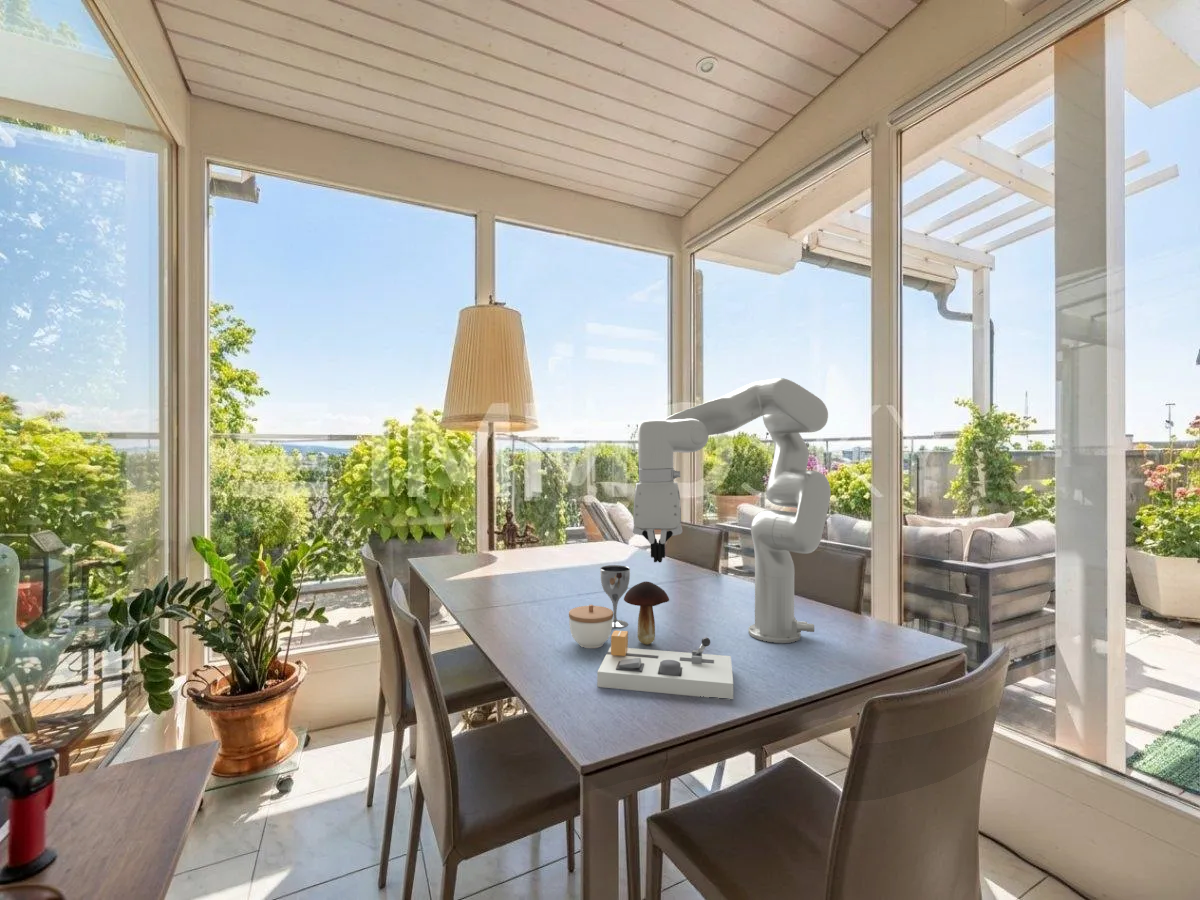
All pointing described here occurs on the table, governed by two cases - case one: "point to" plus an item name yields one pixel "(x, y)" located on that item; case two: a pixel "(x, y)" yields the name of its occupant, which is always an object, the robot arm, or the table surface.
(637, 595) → the decorative mushroom
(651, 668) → the panel
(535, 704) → the table surface
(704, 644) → the lever
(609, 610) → the lidded jar
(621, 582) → the wine glass
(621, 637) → the slider
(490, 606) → the table surface
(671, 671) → the button
